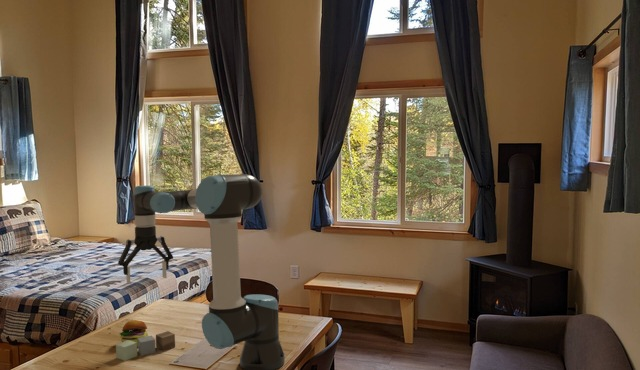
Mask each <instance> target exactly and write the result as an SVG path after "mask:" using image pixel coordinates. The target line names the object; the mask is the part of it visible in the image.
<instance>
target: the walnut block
mask: <svg viewBox="0 0 640 370" xmlns="http://www.w3.org/2000/svg"><path fill="white" fill-rule="evenodd" d="M156 348H157V349H159V350H160V351H162V352H163V351H167V350H171V349H173V348H176V334H175V333H174V332H171V331H168V330H167V331H164V332H161V333H157V334H155V349H156Z"/></svg>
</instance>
